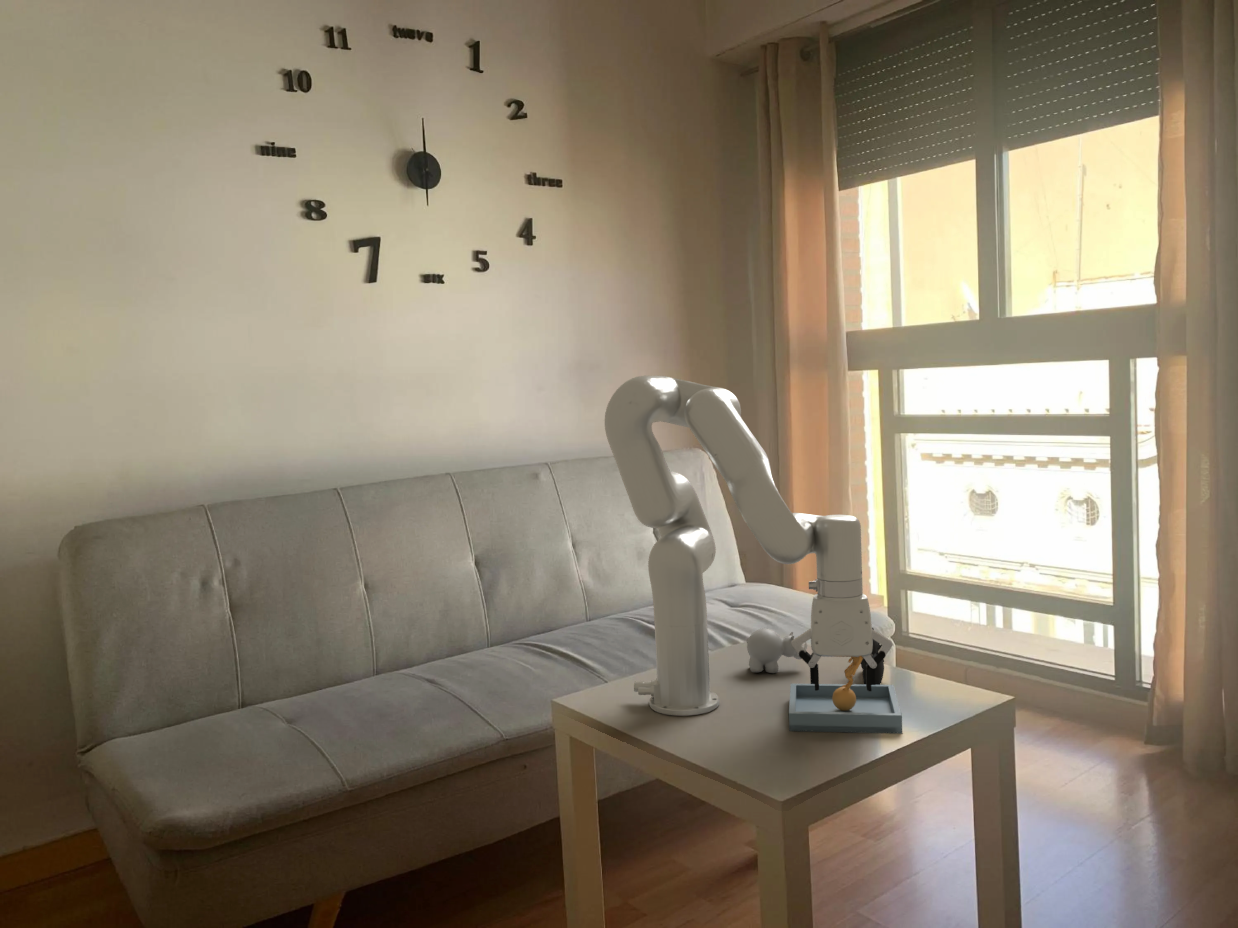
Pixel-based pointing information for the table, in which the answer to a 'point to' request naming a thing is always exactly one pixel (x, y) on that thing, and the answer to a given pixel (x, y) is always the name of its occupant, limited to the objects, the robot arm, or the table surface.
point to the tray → (866, 716)
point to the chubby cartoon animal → (769, 650)
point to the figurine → (847, 687)
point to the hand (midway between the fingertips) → (842, 688)
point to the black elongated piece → (879, 668)
